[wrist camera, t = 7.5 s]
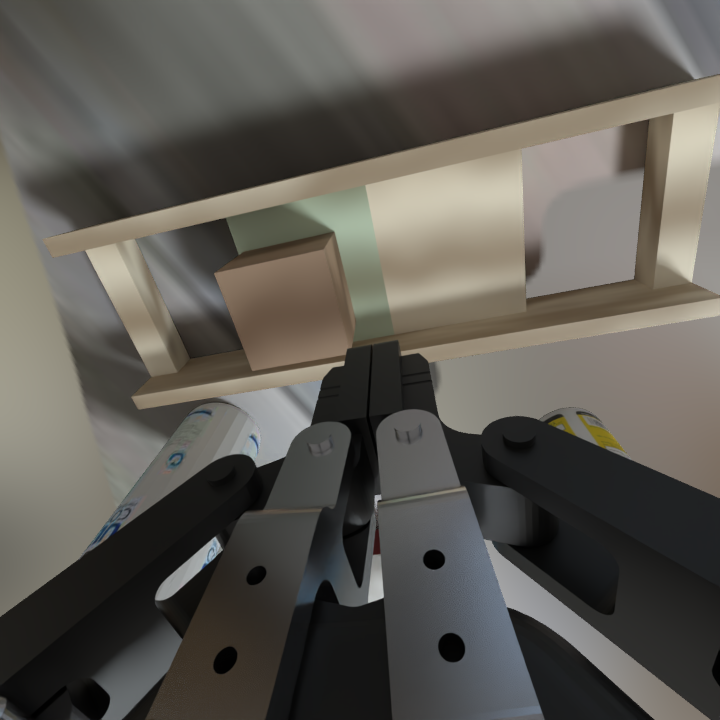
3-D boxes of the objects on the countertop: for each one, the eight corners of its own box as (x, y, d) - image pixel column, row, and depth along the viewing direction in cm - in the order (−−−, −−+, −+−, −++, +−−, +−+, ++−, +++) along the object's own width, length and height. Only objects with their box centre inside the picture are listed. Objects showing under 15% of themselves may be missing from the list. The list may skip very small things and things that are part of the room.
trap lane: (96, 224, 25) (42, 239, 21) (695, 79, 20) (771, 62, 16) (171, 374, 30) (138, 409, 26) (667, 288, 25) (720, 315, 21)
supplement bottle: (525, 464, 32) (577, 581, 24) (527, 409, 30) (585, 516, 21) (597, 458, 31) (678, 576, 23) (605, 400, 29) (698, 508, 20)
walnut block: (243, 251, 23) (213, 273, 19) (334, 231, 23) (323, 249, 19) (272, 336, 26) (252, 371, 22) (356, 320, 25) (350, 353, 21)
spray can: (203, 385, 30) (-51, 717, 13) (278, 427, 32) (143, 778, 14) (170, 439, 33) (-78, 775, 15) (240, 476, 34) (88, 821, 17)
